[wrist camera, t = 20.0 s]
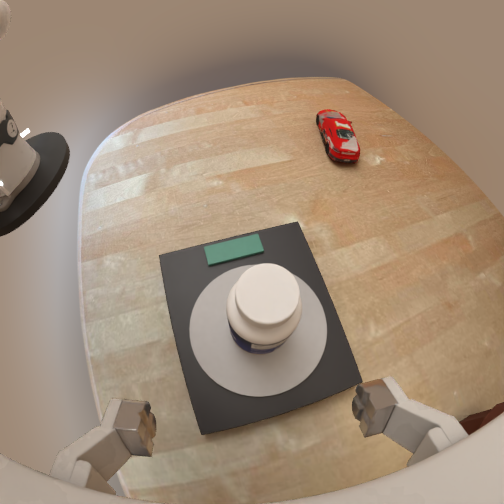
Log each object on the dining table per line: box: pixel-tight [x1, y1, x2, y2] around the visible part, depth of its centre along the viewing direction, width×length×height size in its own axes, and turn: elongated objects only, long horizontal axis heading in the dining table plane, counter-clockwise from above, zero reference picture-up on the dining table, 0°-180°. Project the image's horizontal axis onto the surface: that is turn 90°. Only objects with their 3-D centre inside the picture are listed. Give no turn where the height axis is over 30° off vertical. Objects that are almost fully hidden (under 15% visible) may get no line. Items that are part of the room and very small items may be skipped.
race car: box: [316, 110, 360, 163], centre depth 42 cm, size 13×5×4 cm, turn 1°
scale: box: [159, 222, 363, 435], centre depth 28 cm, size 16×19×3 cm
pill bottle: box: [226, 263, 302, 355], centre depth 21 cm, size 5×5×10 cm
